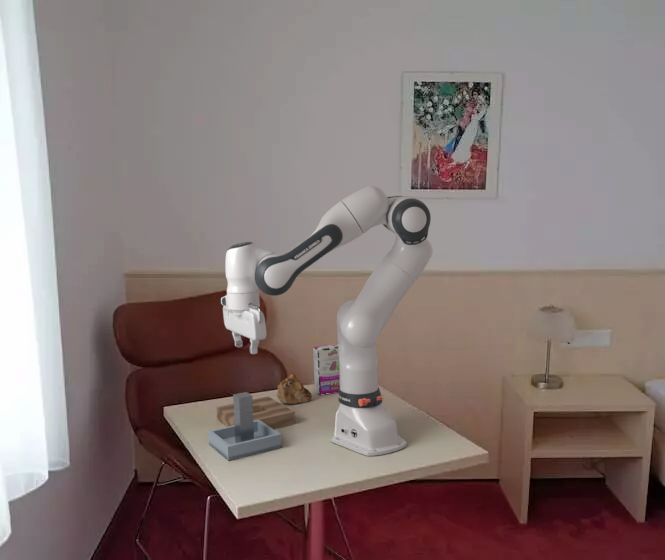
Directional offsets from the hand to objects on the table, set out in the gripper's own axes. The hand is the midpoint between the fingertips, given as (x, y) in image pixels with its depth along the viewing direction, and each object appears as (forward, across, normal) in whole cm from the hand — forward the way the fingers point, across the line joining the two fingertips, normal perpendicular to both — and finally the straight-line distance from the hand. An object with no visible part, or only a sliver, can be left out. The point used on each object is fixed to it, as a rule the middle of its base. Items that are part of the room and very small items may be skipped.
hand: (246, 350), depth 194 cm
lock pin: (+26, -1, +2) cm, 26 cm away
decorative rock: (+28, +24, -27) cm, 45 cm away
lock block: (+27, +15, -9) cm, 33 cm away
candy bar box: (+28, +27, -44) cm, 59 cm away
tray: (+27, -1, +2) cm, 27 cm away
